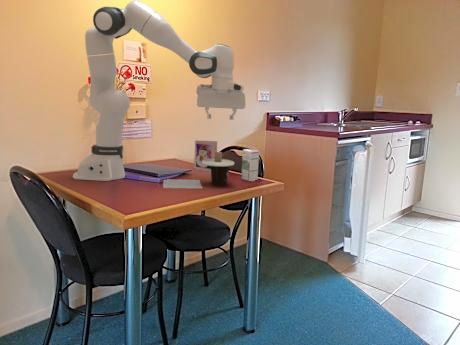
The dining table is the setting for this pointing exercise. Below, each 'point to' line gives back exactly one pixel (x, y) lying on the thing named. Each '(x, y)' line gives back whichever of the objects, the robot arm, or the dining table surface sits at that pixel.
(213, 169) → the coffee mug
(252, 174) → the syrup box
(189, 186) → the grey mat
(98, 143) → the robot arm
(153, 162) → the dining table surface
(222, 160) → the sage lid
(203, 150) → the greeting card
